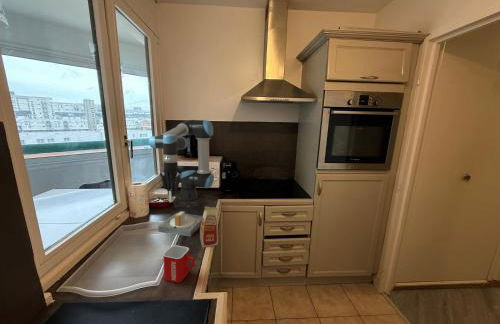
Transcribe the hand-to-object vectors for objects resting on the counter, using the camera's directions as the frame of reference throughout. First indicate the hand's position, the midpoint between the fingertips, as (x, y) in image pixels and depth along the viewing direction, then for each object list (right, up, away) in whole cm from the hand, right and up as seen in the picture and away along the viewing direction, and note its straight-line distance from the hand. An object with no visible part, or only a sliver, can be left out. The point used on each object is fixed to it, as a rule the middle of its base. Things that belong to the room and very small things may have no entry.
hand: (171, 201), depth 127 cm
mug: (+18, -24, -38) cm, 48 cm away
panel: (+5, -16, +5) cm, 18 cm away
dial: (+5, -14, +4) cm, 16 cm away
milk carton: (+24, -20, -11) cm, 33 cm away
